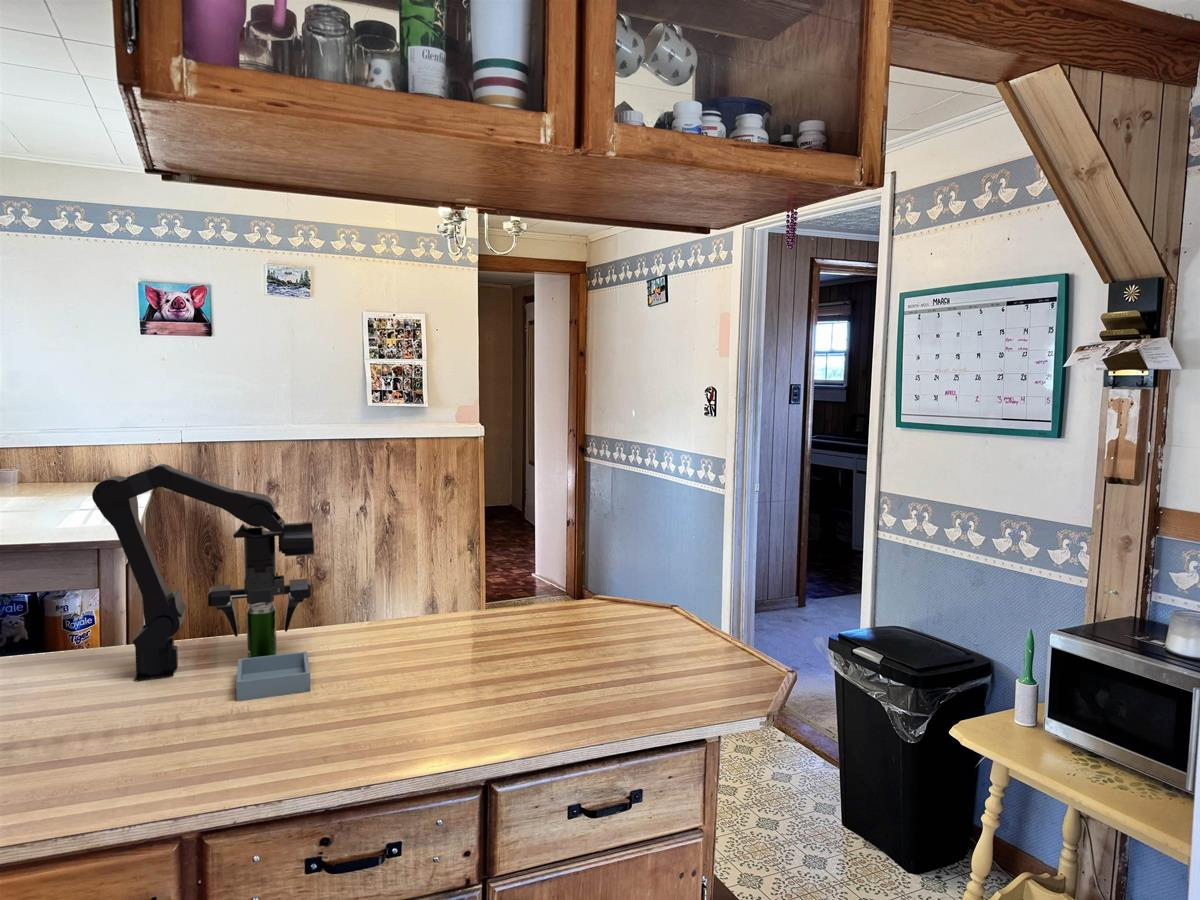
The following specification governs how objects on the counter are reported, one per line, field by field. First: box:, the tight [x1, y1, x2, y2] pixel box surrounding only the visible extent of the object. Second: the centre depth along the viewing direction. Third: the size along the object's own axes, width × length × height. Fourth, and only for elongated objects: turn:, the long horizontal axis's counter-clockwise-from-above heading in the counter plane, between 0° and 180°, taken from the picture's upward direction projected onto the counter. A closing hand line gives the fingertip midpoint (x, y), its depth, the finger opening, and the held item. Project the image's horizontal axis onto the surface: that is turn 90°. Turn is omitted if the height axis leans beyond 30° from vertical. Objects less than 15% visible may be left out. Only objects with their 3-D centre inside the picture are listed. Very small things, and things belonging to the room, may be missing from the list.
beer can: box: [246, 602, 278, 658], centre depth 157 cm, size 5×5×12 cm
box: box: [235, 650, 311, 702], centre depth 146 cm, size 12×12×4 cm
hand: (261, 633), depth 156 cm, fingers open, 9 cm apart
